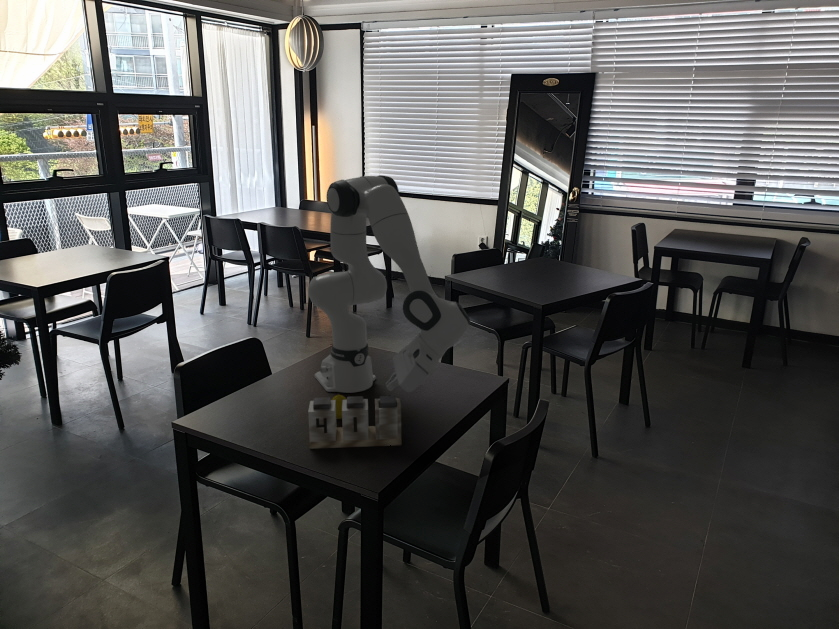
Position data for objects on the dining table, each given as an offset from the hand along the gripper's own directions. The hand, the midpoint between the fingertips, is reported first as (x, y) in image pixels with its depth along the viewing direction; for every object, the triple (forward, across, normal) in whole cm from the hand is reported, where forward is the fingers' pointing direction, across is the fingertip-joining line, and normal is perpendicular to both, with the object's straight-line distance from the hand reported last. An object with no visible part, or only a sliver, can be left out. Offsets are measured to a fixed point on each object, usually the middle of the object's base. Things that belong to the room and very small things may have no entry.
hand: (387, 387), depth 177 cm
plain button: (+7, 0, +7) cm, 10 cm away
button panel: (+17, 0, +4) cm, 18 cm away
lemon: (+20, -14, +2) cm, 25 cm away
